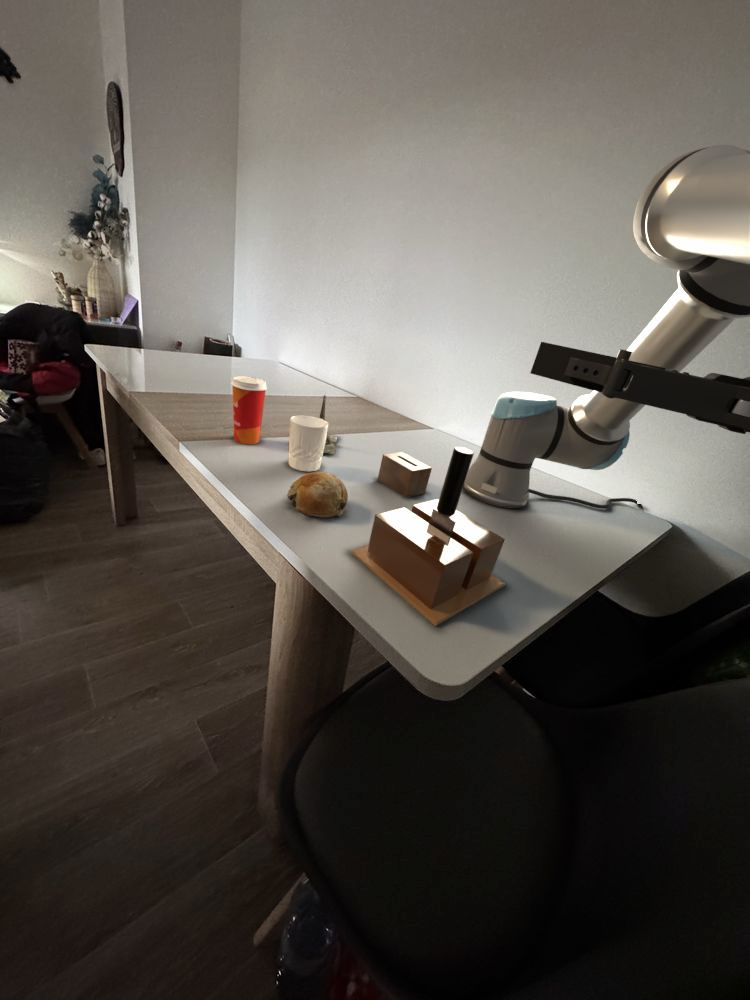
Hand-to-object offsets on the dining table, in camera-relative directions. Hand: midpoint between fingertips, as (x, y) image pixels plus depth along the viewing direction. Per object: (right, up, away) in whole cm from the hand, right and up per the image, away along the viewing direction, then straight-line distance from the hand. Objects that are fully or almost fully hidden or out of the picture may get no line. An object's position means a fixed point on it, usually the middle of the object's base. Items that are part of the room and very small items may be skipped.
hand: (568, 362), depth 39 cm
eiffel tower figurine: (-34, 0, +60) cm, 69 cm away
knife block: (-14, -11, +46) cm, 49 cm away
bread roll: (-30, -15, +31) cm, 46 cm away
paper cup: (-50, 0, +53) cm, 73 cm away
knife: (-12, -24, +19) cm, 33 cm away
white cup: (-35, -6, +46) cm, 58 cm away
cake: (-12, -24, +19) cm, 33 cm away
